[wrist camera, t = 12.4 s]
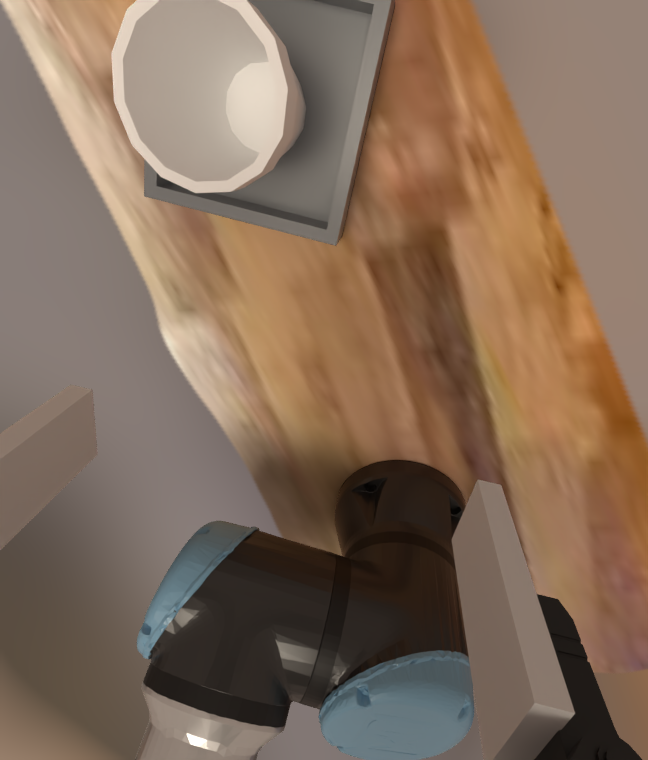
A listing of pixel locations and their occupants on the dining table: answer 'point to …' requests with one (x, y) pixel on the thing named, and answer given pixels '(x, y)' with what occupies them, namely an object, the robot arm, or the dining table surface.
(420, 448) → the dining table surface
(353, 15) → the tray
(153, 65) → the foam cup
